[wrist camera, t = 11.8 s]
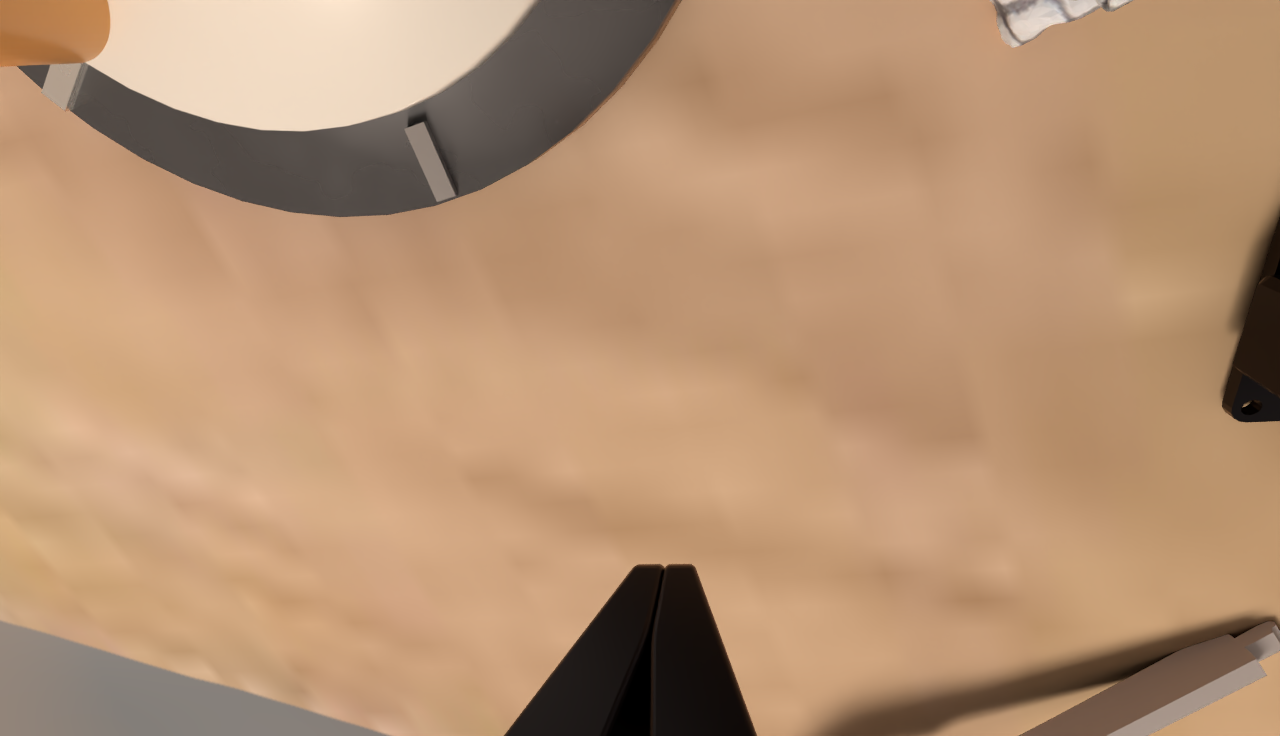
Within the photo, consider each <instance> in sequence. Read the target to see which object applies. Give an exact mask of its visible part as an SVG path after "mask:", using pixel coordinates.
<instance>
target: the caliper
mask: <svg viewBox="0 0 1280 736" xmlns="http://www.w3.org/2000/svg"><path fill="white" fill-rule="evenodd" d="M1279 651H1280V630H1279V629H1278V627H1277V625H1276V624H1275V622H1274V621H1267V622H1265V623H1263V624H1260V625H1258V626H1256V627H1254V628H1252V629H1250V630H1249V631H1247V632H1245V633H1243V634H1241V635H1240V636H1238V637H1236V638H1233V637H1232V636H1231V635H1229V634H1227V635H1224V636H1221V637H1218V638H1214V639H1211V640H1208V641H1205V642H1202V643H1199V644H1196V645H1193V646H1190V647H1187V648H1184V649H1181V650H1179V651H1177V652H1175V653H1173V654H1171V655H1170V656H1168V657H1166V658H1164V659H1162V660H1160V661H1158V662H1157V663H1155V664H1153V665H1151V666H1149V667H1147V668H1145V669H1143V670H1142V671H1140V672H1138V673H1136V674H1134V675H1132V676H1130V677H1128V678H1127V679H1125V680H1123V681H1121V682H1119V683H1117V684H1115V685H1114V686H1112V687H1110V688H1108V689H1106V690H1104V691H1102V692H1100V693H1099V694H1097V695H1095V696H1093V697H1091V698H1089V699H1087V700H1086V701H1084V702H1082V703H1080V704H1078V705H1076V706H1074V707H1072V708H1071V709H1069V710H1067V711H1065V712H1063V713H1061V714H1059V715H1057V716H1056V717H1054V718H1052V719H1050V720H1048V721H1046V722H1044V723H1042V724H1040V725H1038V726H1036V727H1035V728H1033V729H1031V730H1029V731H1027V732H1025V733H1023V734H1021V735H1019V736H1148V735H1150V734H1152V733H1154V732H1156V731H1158V730H1160V729H1162V728H1164V727H1166V726H1168V725H1170V724H1172V723H1174V722H1176V721H1178V720H1180V719H1182V718H1184V717H1186V716H1188V715H1190V714H1192V713H1194V712H1196V711H1198V710H1200V709H1202V708H1204V707H1206V706H1208V705H1209V704H1211V703H1213V702H1215V701H1217V700H1219V699H1221V698H1223V697H1225V696H1227V695H1229V694H1231V693H1233V692H1235V691H1237V690H1239V689H1241V688H1243V687H1245V686H1247V685H1249V684H1251V683H1253V682H1255V681H1257V680H1259V679H1261V678H1263V677H1265V676H1267V675H1266V673H1265V671H1264V670H1263V668H1262V667H1261V665H1260V664H1259V661H1261V660H1263V659H1265V658H1267V657H1269V656H1271V655H1273V654H1275V653H1277V652H1279Z"/></svg>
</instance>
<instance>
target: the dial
mask: <svg viewBox="0 0 1280 736" xmlns="http://www.w3.org/2000/svg"><path fill="white" fill-rule="evenodd" d="M540 1H541V0H0V67H2V66H26V65H50V64H75V63H84V62H85V63H87V64H88V65H90V66H92V67H94V68H95V69H97V70H99V71H100V72H102V73H104V74H106V75H107V76H109V77H111V78H112V79H114V80H116V81H117V82H119V83H121V84H123V85H124V86H126V87H128V88H129V89H132V90H134V91H136V92H138V93H141V94H143V95H145V96H147V97H149V98H152V99H154V100H156V101H158V102H161V103H163V104H165V105H167V106H169V107H172V108H174V109H177V110H180V111H183V112H187V113H190V114H193V115H196V116H199V117H202V118H206V119H209V120H212V121H215V122H219V123H224V124H230V125H236V126H242V127H247V128H253V129H259V130H278V131H311V130H319V129H327V128H335V127H343V126H349V125H353V124H358V123H362V122H366V121H370V120H373V119H377V118H380V117H384V116H387V115H391V114H394V113H397V112H401V111H404V110H407V109H409V108H411V107H413V106H415V105H418V104H420V103H422V102H424V101H426V100H428V99H430V98H432V97H434V96H436V95H438V94H441V93H443V92H444V91H446V90H447V89H449V88H450V87H452V86H453V85H455V84H456V83H457V82H459V81H460V80H462V79H463V78H465V77H466V76H468V75H469V74H470V73H472V72H473V71H475V70H476V69H478V68H479V67H480V66H481V65H482V64H483V63H485V62H486V61H487V60H488V59H489V58H490V57H491V56H492V55H493V54H494V53H495V52H496V51H497V50H498V49H499V48H500V47H501V46H502V45H504V44H505V43H506V42H507V41H508V40H509V39H510V38H511V37H512V36H513V35H514V34H515V33H516V31H517V30H518V29H519V28H520V26H521V25H522V24H523V22H524V21H525V20H526V19H527V17H528V16H529V15H530V14H531V12H532V11H533V10H534V9H535V7H536V6H537V5H538V4H539V2H540Z"/></svg>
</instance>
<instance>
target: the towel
mask: <svg viewBox="0 0 1280 736" xmlns="http://www.w3.org/2000/svg"><path fill="white" fill-rule="evenodd" d="M990 1H991V2H992V4H993V5H994V6H995V8H996V11H997V19H996V22H997V26H998V28H999V31H1000V33H1001V38H1002V39H1003V41H1004V42H1005V43H1006V44H1008V45H1010V46H1011V47H1012V48H1014V47H1017V46H1021V45H1023V44H1025V43H1027V42H1029V41H1031V40H1033V39H1035V38H1036V37H1037V36H1039V35H1040V34H1041V33H1042V32H1043V31H1044V30H1045V29H1046V28H1047V27H1049V26H1051V25H1054V24H1061V23H1067V22H1071V21H1074V20H1077V19H1080V18H1082V17H1084V16H1086V15H1088V14H1090V13H1092V12H1094V11H1095V10H1097V9H1098V8H1100V7H1102V8H1103V9H1104V10H1105V11H1115V10H1116V9H1118V8H1120V7H1122V6H1124V5H1126V4H1128V3H1129V2H1131V1H1133V0H990Z"/></svg>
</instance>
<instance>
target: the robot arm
mask: <svg viewBox="0 0 1280 736" xmlns="http://www.w3.org/2000/svg"><path fill="white" fill-rule="evenodd" d="M1233 364H1234V366H1233V369H1232V372H1231V376H1230V379H1229V382H1228V385H1227V388H1226V392H1225V395H1224V398H1223V401H1222V407H1223V409H1224V411H1225V412H1226V413H1228V414H1229V415H1230V416H1232V417H1233V418H1234V419H1236V420H1238V421H1240V422H1266V421H1280V218H1279V221H1278V225H1277V228H1276V231H1275V234H1274V237H1273V241H1272V244H1271V247H1270V250H1269V253H1268V257H1267V260H1266V263H1265V266H1264V270H1263V273H1262V276H1261V279H1260V282H1259V284H1258V285H1257V287H1256V291H1255V294H1254V297H1253V300H1252V303H1251V307H1250V310H1249V313H1248V316H1247V320H1246V323H1245V326H1244V329H1243V332H1242V336H1241V339H1240V342H1239V345H1238V349H1237V352H1236V355H1235V358H1234V361H1233ZM1251 400H1252V401H1251ZM1248 401H1251V403H1250V404H1249V405H1247V406H1246V407H1242V406H1243V405H1244V404H1245V403H1246V402H1248ZM504 736H757V734H756V732H755V729H754V726H753V723H752V721H751V718H750V715H749V713H748V710H747V707H746V704H745V702H744V699H743V696H742V693H741V691H740V688H739V685H738V683H737V680H736V677H735V674H734V672H733V669H732V666H731V663H730V661H729V658H728V655H727V652H726V650H725V647H724V644H723V642H722V639H721V636H720V633H719V631H718V628H717V625H716V622H715V620H714V617H713V614H712V612H711V609H710V606H709V603H708V601H707V598H706V595H705V592H704V590H703V587H702V584H701V582H700V579H699V576H698V573H697V571H696V568H695V567H694V566H693V565H692V564H669V565H667V566H666V567H665V568H664V566H662V565H660V564H639V565H636V566H635V567H633V569H632V570H631V571H630V572H629V574H628V575H627V576H626V578H625V579H624V580H623V582H622V583H621V584H620V585H619V587H618V588H617V589H616V591H615V592H614V593H613V595H612V596H611V597H610V598H609V600H608V601H607V602H606V604H605V605H604V606H603V608H602V609H601V610H600V611H599V613H598V614H597V615H596V617H595V618H594V619H593V621H592V622H591V623H590V624H589V626H588V627H587V628H586V630H585V631H584V632H583V634H582V635H581V636H580V637H579V639H578V640H577V641H576V643H575V644H574V645H573V647H572V648H571V649H570V650H569V652H568V653H567V654H566V656H565V657H564V658H563V660H562V661H561V662H560V664H559V665H558V666H557V667H556V669H555V670H554V671H553V673H552V674H551V675H550V677H549V678H548V679H547V680H546V682H545V683H544V684H543V686H542V687H541V688H540V690H539V691H538V692H537V693H536V695H535V696H534V697H533V699H532V700H531V701H530V703H529V704H528V705H527V706H526V708H525V709H524V710H523V712H522V713H521V714H520V716H519V717H518V718H517V719H516V721H515V722H514V723H513V725H512V726H511V727H510V729H509V730H508V731H507V732H506V734H505V735H504Z"/></svg>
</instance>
